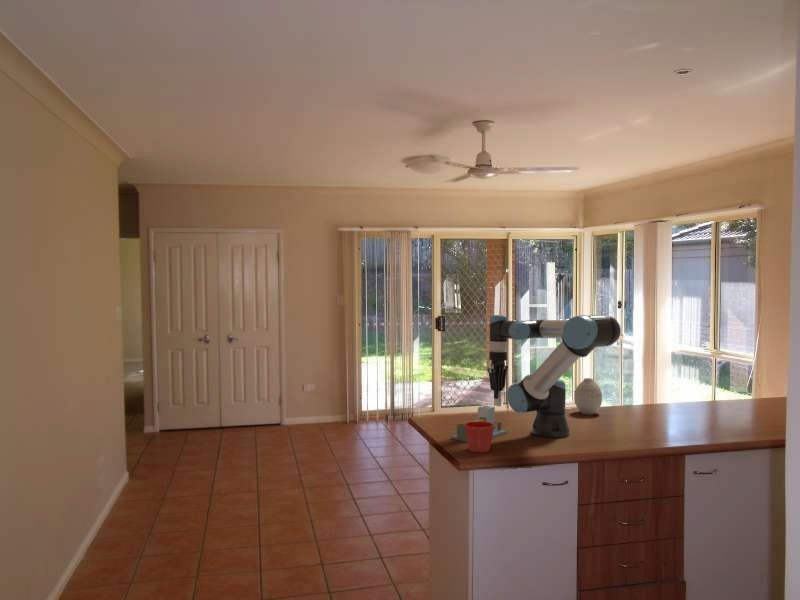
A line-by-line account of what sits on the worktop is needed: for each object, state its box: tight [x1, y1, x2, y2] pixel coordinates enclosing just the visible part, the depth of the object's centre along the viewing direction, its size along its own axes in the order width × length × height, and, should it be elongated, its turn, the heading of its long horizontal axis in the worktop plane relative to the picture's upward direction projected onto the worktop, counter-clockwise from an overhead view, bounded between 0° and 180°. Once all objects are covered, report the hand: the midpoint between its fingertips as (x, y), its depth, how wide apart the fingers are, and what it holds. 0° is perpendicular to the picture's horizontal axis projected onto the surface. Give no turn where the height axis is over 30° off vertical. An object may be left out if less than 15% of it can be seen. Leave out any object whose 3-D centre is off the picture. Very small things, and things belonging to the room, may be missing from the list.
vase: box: [573, 377, 603, 416], centre depth 305 cm, size 13×13×17 cm
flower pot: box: [465, 420, 494, 453], centre depth 238 cm, size 11×11×10 cm
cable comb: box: [450, 418, 508, 443], centre depth 260 cm, size 12×23×7 cm, turn 139°
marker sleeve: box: [477, 405, 496, 428], centre depth 265 cm, size 5×5×8 cm
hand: (497, 405), depth 272 cm, fingers closed
